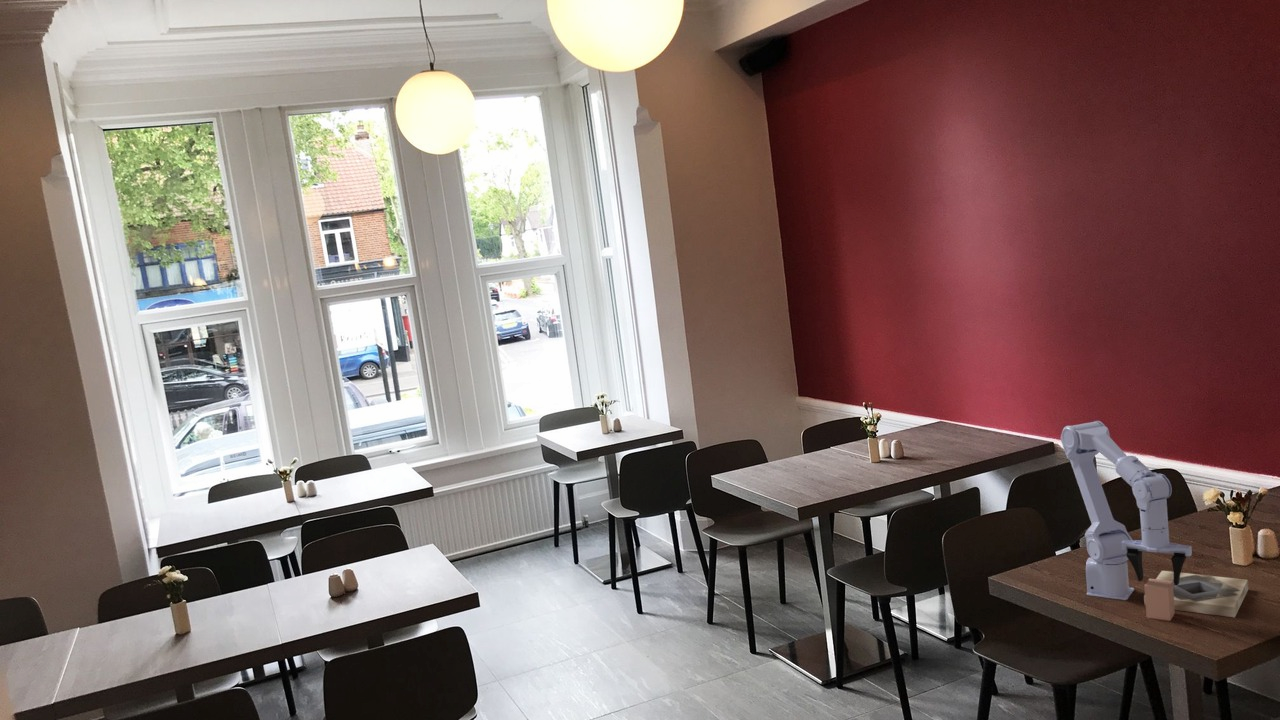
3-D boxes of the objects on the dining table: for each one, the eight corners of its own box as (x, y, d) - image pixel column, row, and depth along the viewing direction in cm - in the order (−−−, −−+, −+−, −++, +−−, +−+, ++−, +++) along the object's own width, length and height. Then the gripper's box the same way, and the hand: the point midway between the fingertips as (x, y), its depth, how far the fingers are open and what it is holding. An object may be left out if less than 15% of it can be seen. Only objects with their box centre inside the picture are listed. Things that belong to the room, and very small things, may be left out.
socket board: (1144, 605, 234) (1143, 596, 233) (1162, 579, 248) (1161, 570, 248) (1234, 617, 221) (1234, 607, 221) (1248, 589, 235) (1247, 579, 235)
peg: (1146, 617, 227) (1144, 585, 226) (1151, 610, 231) (1149, 578, 230) (1170, 620, 224) (1167, 588, 223) (1174, 613, 228) (1172, 580, 227)
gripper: (1116, 528, 227) (1120, 583, 228) (1185, 534, 217) (1189, 591, 219) (1124, 519, 232) (1128, 573, 233) (1192, 525, 223) (1195, 581, 224)
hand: (1158, 581), depth 226 cm, fingers open, 7 cm apart
